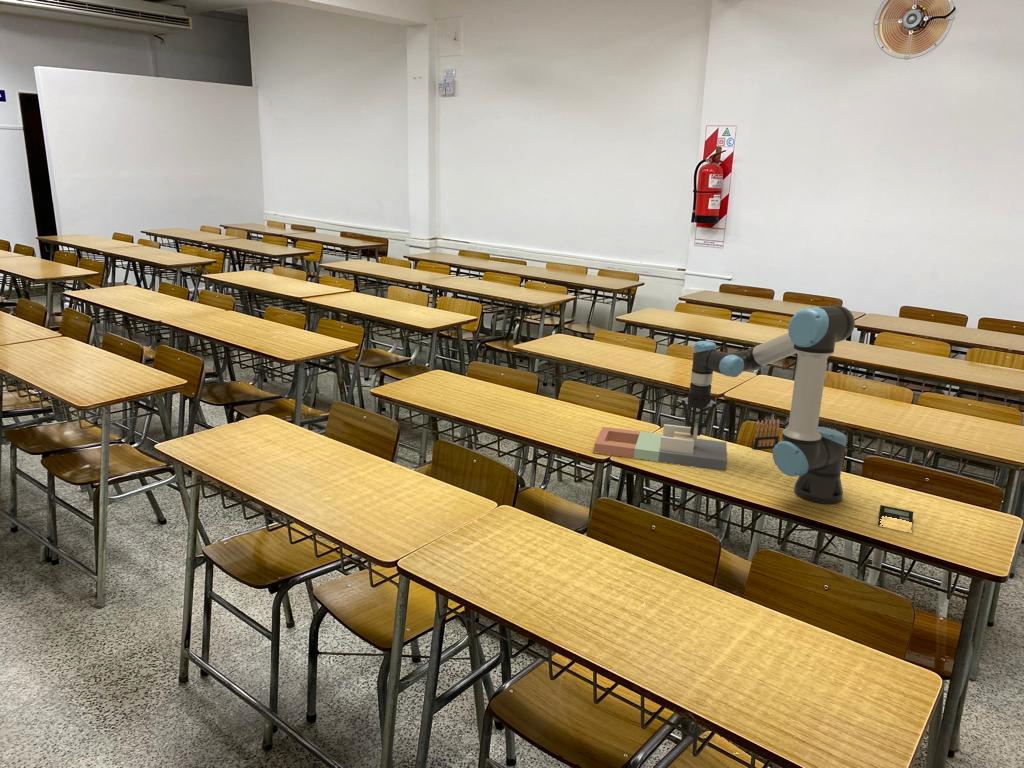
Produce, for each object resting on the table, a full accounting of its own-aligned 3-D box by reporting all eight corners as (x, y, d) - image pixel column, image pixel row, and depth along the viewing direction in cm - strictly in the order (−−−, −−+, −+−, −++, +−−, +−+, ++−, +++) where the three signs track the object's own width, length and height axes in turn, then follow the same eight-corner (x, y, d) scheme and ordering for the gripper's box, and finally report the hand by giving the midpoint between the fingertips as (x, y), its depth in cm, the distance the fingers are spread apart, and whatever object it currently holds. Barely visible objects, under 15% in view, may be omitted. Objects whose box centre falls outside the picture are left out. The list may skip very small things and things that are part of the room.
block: (691, 449, 266) (692, 439, 265) (672, 447, 268) (673, 437, 267) (692, 443, 273) (693, 433, 272) (673, 441, 275) (674, 431, 274)
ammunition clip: (775, 446, 285) (779, 418, 281) (777, 448, 283) (782, 419, 279) (750, 448, 282) (754, 419, 279) (753, 449, 280) (757, 420, 277)
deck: (725, 471, 258) (728, 447, 256) (593, 453, 270) (595, 430, 268) (725, 451, 277) (727, 429, 274) (602, 436, 289) (603, 414, 286)
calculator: (877, 527, 221) (879, 518, 220) (878, 512, 231) (880, 504, 230) (912, 535, 216) (913, 526, 216) (911, 519, 226) (913, 511, 226)
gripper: (719, 382, 264) (712, 442, 271) (683, 378, 268) (677, 437, 274) (719, 387, 257) (711, 448, 264) (682, 383, 261) (676, 444, 267)
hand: (694, 443), depth 269 cm, fingers closed
